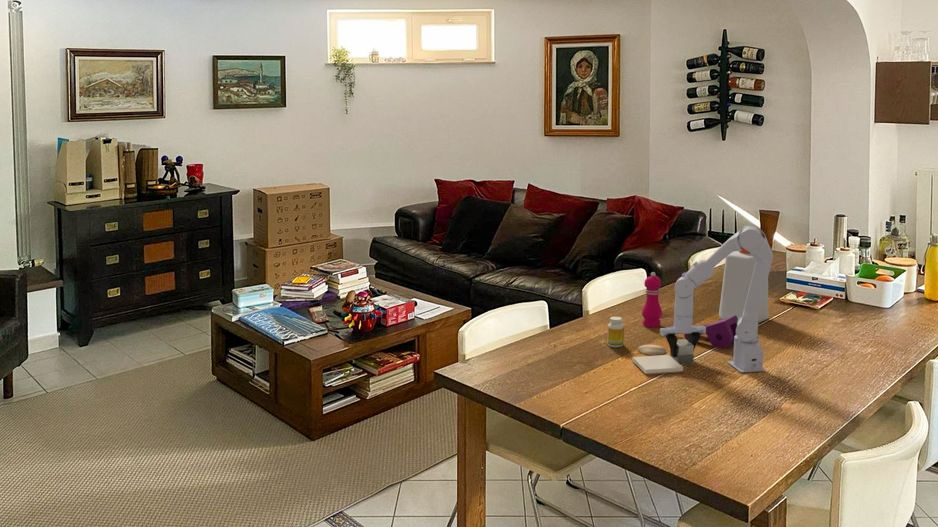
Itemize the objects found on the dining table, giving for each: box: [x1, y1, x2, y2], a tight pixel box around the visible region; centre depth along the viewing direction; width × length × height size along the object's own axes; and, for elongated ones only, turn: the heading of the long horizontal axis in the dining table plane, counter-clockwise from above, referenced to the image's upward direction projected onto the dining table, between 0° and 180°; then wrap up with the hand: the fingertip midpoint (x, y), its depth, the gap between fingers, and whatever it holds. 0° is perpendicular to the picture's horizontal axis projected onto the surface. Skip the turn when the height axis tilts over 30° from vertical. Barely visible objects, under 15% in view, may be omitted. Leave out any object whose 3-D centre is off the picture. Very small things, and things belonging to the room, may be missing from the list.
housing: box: [669, 338, 695, 365], centre depth 260 cm, size 7×5×6 cm
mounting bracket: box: [683, 315, 738, 349], centre depth 278 cm, size 9×8×18 cm
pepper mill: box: [641, 271, 663, 328], centre depth 296 cm, size 7×7×20 cm
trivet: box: [632, 354, 684, 376], centre depth 254 cm, size 12×12×2 cm
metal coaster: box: [637, 344, 667, 356], centre depth 270 cm, size 9×9×1 cm
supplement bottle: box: [606, 316, 625, 348], centre depth 276 cm, size 5×5×10 cm
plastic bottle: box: [718, 247, 770, 324], centre depth 301 cm, size 15×15×28 cm
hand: (681, 355), depth 260 cm, fingers closed on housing, 5 cm apart
